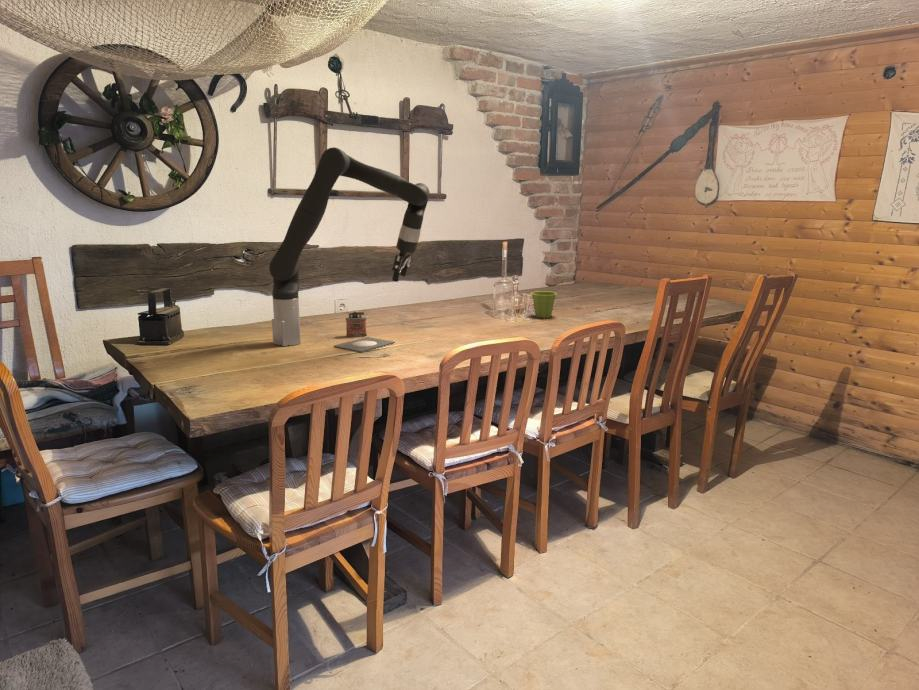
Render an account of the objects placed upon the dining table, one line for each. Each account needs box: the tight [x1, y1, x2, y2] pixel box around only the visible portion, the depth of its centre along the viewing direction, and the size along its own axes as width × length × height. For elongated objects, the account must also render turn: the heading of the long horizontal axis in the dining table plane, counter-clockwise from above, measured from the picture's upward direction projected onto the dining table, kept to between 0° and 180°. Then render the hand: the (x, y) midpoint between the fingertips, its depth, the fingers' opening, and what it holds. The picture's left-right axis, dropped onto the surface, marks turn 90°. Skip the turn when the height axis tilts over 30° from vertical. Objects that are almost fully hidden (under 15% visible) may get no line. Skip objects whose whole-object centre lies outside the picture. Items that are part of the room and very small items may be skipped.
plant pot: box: [530, 290, 558, 319], centre depth 288 cm, size 12×12×11 cm
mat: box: [333, 336, 396, 354], centre depth 233 cm, size 18×14×1 cm
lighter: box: [345, 310, 368, 338], centre depth 246 cm, size 8×3×10 cm, turn 105°
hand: (399, 278), depth 237 cm, fingers open, 8 cm apart
